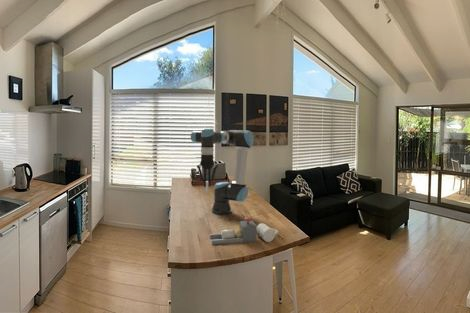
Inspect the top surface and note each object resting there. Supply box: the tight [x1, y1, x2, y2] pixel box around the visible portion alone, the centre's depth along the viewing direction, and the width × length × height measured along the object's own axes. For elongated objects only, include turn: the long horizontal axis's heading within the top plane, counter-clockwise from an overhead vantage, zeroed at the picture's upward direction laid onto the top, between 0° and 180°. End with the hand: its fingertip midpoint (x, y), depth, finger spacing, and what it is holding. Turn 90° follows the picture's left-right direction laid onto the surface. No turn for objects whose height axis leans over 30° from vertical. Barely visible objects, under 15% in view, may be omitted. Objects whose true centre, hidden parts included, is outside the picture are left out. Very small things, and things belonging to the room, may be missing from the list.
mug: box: [256, 223, 279, 243], centre depth 164 cm, size 12×10×8 cm
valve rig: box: [209, 216, 258, 245], centre depth 159 cm, size 10×26×13 cm, turn 102°
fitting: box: [220, 228, 235, 239], centre depth 159 cm, size 6×7×6 cm
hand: (206, 191), depth 168 cm, fingers closed
